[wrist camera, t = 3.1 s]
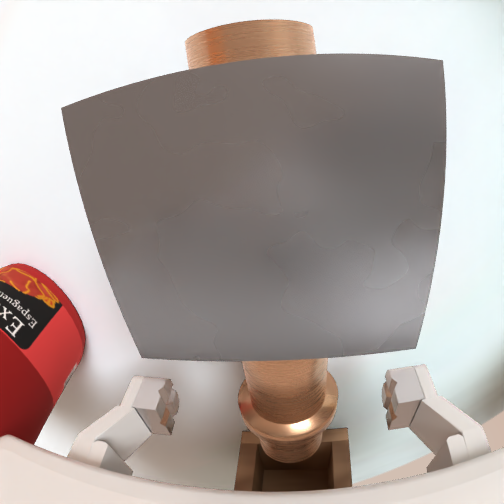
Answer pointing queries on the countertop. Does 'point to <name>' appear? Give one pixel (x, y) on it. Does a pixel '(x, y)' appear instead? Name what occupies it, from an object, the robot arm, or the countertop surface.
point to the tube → (282, 371)
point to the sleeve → (268, 204)
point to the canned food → (34, 349)
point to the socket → (295, 466)
